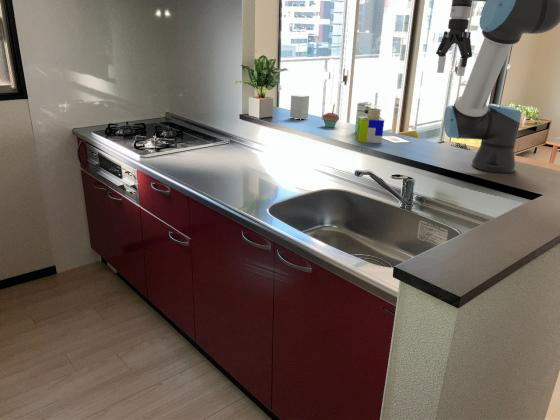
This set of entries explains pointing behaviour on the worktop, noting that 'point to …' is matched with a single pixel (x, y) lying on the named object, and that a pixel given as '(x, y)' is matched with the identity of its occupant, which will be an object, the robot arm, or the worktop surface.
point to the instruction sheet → (394, 139)
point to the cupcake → (330, 118)
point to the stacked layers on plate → (372, 113)
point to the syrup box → (361, 112)
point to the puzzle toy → (370, 130)
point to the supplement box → (299, 106)
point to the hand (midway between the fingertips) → (449, 74)
